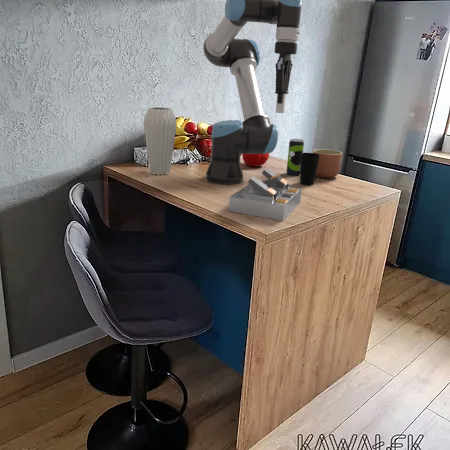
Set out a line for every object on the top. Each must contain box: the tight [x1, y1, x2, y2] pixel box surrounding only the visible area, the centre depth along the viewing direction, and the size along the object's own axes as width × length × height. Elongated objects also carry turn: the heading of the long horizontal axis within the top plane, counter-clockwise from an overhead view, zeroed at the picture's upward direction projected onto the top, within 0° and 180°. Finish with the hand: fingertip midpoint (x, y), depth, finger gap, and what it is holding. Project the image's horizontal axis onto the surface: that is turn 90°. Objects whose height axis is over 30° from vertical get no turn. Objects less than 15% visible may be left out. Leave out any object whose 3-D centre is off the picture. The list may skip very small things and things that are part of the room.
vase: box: [143, 106, 177, 174], centre depth 186 cm, size 13×13×26 cm
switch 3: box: [261, 167, 289, 187], centre depth 157 cm, size 9×4×2 cm, turn 67°
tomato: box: [241, 153, 270, 167], centre depth 211 cm, size 13×12×11 cm
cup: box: [299, 152, 320, 187], centre depth 184 cm, size 8×8×12 cm
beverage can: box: [286, 138, 305, 177], centre depth 198 cm, size 6×6×15 cm
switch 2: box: [247, 175, 277, 197], centre depth 144 cm, size 9×4×2 cm, turn 67°
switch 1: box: [253, 173, 283, 188], centre depth 151 cm, size 9×4×2 cm, turn 67°
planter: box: [312, 148, 343, 179], centre depth 198 cm, size 12×12×11 cm
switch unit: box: [228, 179, 302, 222], centre depth 153 cm, size 18×22×6 cm
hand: (279, 112), depth 163 cm, fingers closed
